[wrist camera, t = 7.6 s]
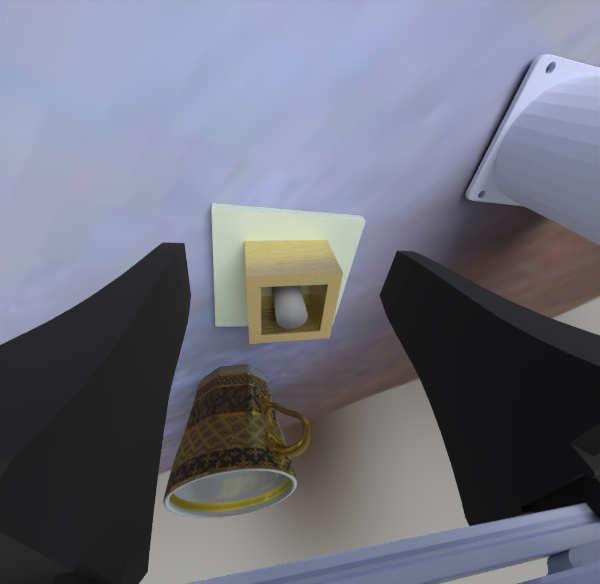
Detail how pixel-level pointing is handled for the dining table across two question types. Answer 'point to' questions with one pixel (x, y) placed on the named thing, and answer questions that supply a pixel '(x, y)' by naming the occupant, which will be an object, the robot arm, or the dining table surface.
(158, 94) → the dining table surface
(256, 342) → the wooden square frame
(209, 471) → the ceramic cup
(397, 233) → the dining table surface
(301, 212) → the post plate
